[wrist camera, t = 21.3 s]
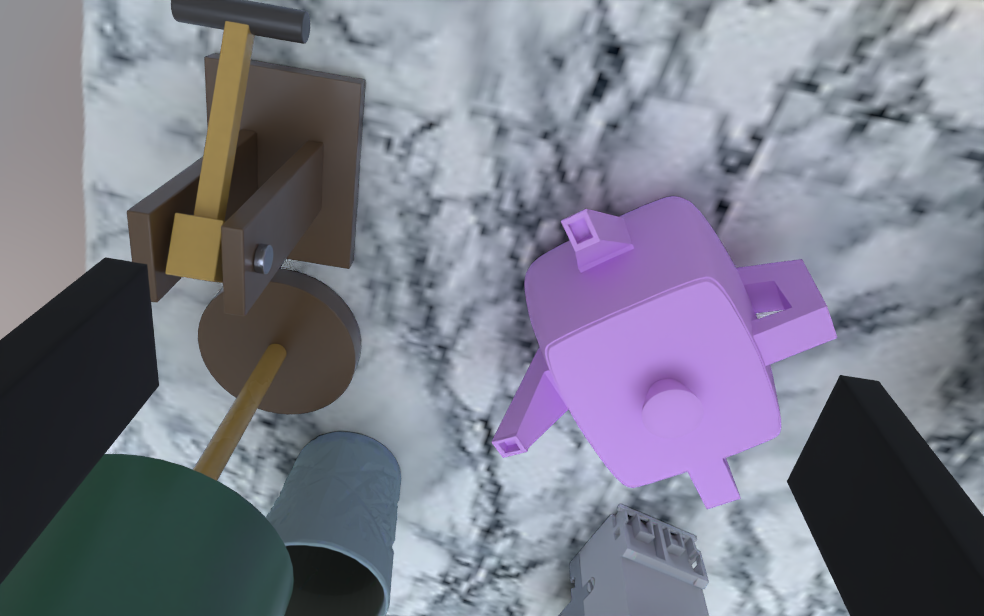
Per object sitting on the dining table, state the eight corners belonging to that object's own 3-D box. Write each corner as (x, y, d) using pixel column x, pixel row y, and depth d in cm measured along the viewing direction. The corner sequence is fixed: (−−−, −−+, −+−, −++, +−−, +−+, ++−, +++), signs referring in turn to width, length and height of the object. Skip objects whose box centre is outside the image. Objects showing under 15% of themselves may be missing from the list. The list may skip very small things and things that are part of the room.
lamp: (304, 223, 45) (43, 574, 21) (409, 368, 50) (300, 784, 26) (157, 303, 49) (-214, 684, 24) (270, 431, 54) (58, 850, 30)
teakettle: (703, 425, 52) (750, 557, 41) (487, 371, 50) (476, 493, 39) (813, 224, 44) (908, 321, 33) (558, 152, 42) (570, 229, 31)
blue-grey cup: (264, 465, 56) (203, 589, 45) (346, 399, 52) (302, 518, 42) (356, 533, 59) (319, 664, 49) (439, 476, 55) (420, 604, 45)
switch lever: (190, 1, 33) (168, -23, 31) (314, 23, 33) (302, 0, 31) (146, 270, 33) (121, 267, 31) (271, 290, 33) (256, 288, 31)
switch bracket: (213, 53, 40) (65, 113, 27) (365, 79, 40) (291, 151, 28) (220, 239, 46) (101, 361, 33) (353, 260, 46) (287, 390, 33)
